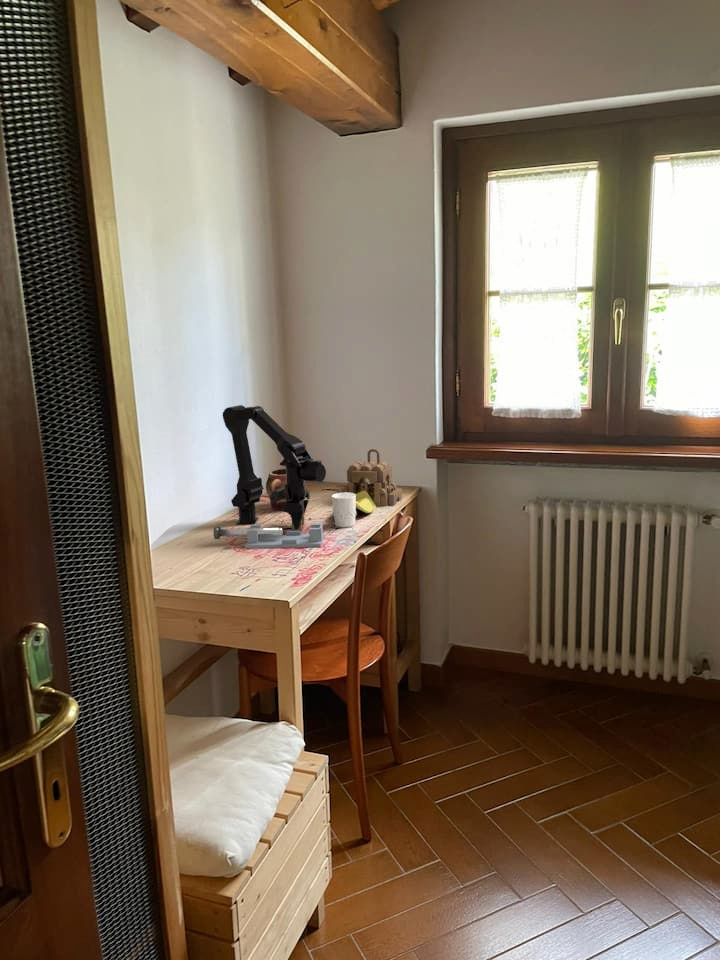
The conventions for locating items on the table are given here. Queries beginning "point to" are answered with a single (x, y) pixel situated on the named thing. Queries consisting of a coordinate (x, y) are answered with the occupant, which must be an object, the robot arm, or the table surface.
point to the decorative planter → (276, 486)
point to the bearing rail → (286, 538)
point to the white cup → (344, 509)
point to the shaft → (245, 532)
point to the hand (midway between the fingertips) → (298, 525)
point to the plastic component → (364, 502)
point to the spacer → (300, 525)
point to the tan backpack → (373, 481)
